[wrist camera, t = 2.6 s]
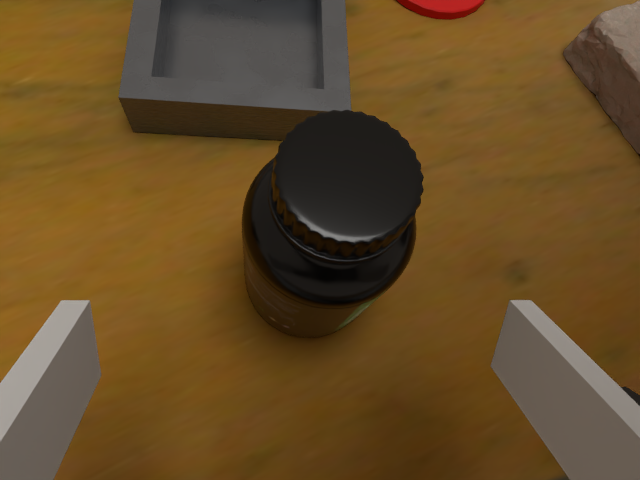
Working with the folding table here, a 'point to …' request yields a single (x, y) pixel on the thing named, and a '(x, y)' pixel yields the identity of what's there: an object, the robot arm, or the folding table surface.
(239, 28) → the keeper tray
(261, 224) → the supplement bottle
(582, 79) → the brick
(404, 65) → the folding table surface
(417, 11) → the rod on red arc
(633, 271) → the folding table surface
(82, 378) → the robot arm
